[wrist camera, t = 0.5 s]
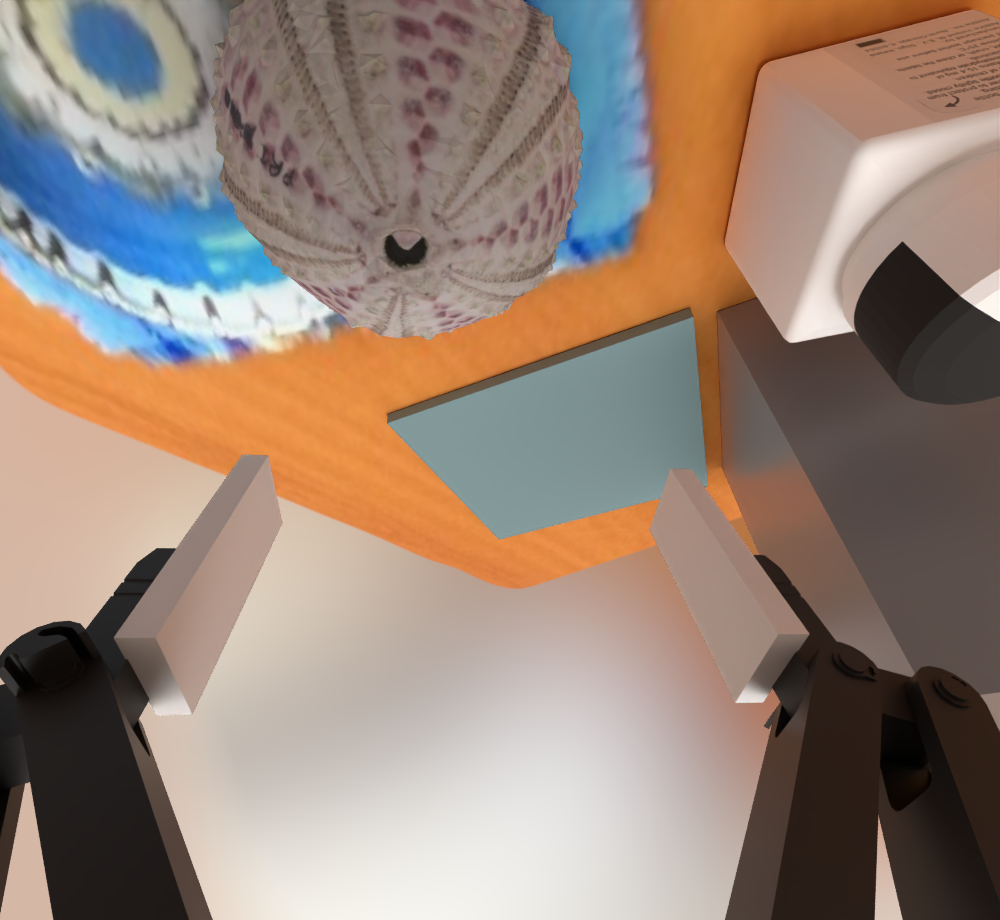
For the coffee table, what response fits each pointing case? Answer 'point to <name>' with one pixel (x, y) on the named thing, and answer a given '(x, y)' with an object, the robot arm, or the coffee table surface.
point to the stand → (867, 497)
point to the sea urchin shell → (400, 152)
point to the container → (882, 201)
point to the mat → (568, 430)
